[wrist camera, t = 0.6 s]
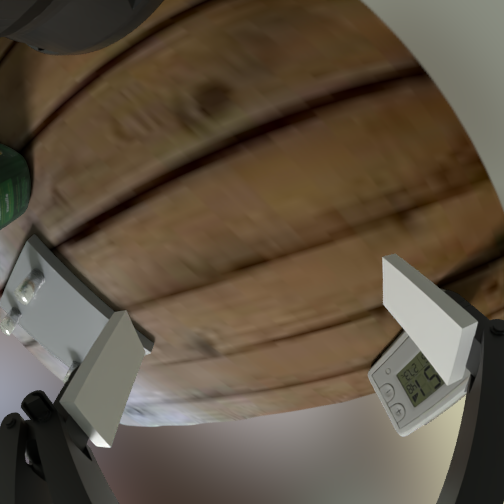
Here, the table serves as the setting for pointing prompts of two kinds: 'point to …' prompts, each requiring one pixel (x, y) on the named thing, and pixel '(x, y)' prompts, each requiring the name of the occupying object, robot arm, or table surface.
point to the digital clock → (412, 386)
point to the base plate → (54, 306)
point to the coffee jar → (13, 185)
